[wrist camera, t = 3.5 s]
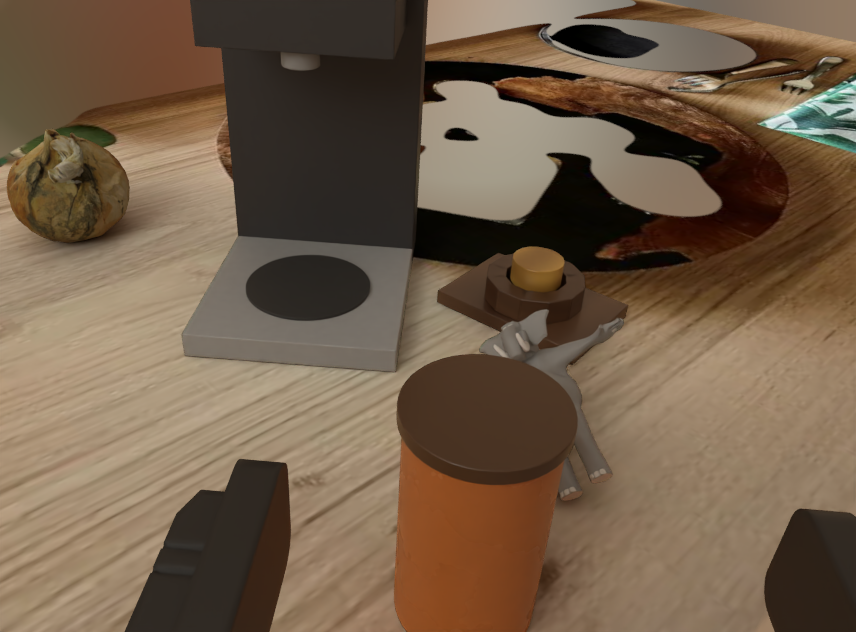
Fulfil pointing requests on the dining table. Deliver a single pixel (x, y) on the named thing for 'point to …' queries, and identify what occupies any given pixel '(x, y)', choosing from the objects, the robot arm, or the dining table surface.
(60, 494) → the dining table surface
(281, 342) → the dark brown rectangular box
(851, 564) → the robot arm
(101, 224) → the onion
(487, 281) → the control block
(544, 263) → the button
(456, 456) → the orange lidded canister
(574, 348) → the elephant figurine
